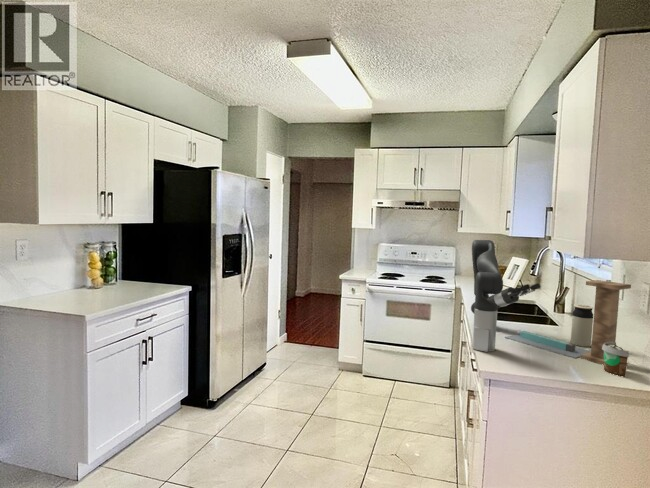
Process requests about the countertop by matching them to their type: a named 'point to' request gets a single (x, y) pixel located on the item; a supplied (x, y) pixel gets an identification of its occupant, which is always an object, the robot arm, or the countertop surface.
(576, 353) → the grey mat
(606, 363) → the food container
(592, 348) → the walnut stand
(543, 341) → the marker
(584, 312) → the travel mug
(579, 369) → the countertop surface
